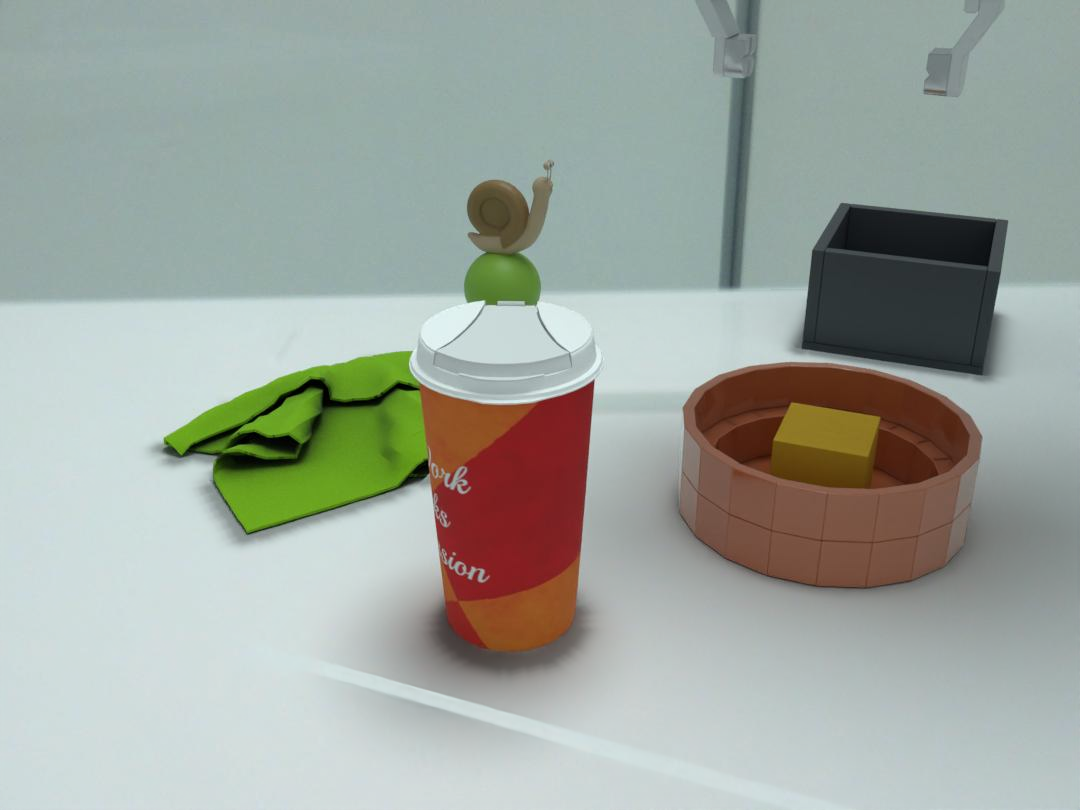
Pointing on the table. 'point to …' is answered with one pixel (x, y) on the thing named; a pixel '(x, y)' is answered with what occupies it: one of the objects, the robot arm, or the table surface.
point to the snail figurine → (505, 241)
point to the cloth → (314, 439)
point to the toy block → (825, 447)
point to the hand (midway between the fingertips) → (834, 84)
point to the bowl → (822, 512)
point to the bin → (905, 287)
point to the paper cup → (508, 464)
